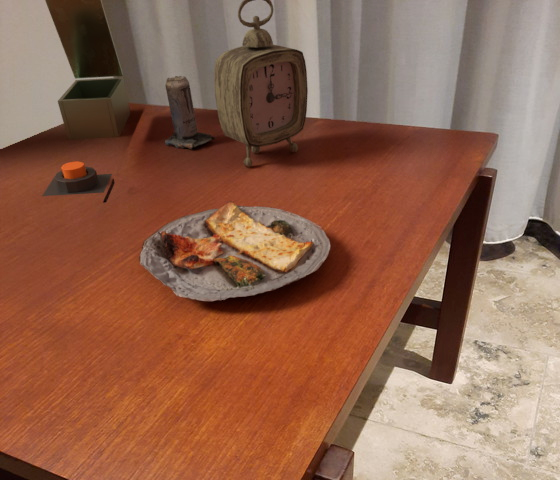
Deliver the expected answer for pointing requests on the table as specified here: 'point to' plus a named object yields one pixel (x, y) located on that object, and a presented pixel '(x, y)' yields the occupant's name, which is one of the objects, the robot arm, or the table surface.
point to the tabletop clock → (261, 90)
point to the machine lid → (85, 37)
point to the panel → (80, 184)
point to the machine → (95, 108)
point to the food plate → (234, 251)
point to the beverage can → (183, 115)
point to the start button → (74, 170)
